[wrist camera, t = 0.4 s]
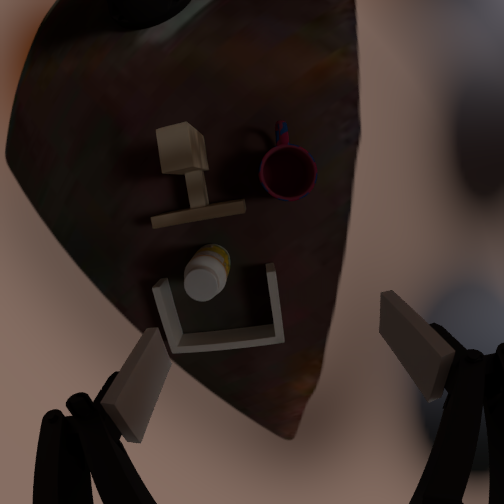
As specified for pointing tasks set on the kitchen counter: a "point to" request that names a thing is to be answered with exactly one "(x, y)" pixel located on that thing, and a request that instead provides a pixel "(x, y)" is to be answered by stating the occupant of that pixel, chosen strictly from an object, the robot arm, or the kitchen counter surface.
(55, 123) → the kitchen counter surface
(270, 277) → the corral
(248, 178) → the kitchen counter surface
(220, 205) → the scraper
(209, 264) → the supplement bottle
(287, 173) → the mug
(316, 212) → the kitchen counter surface
